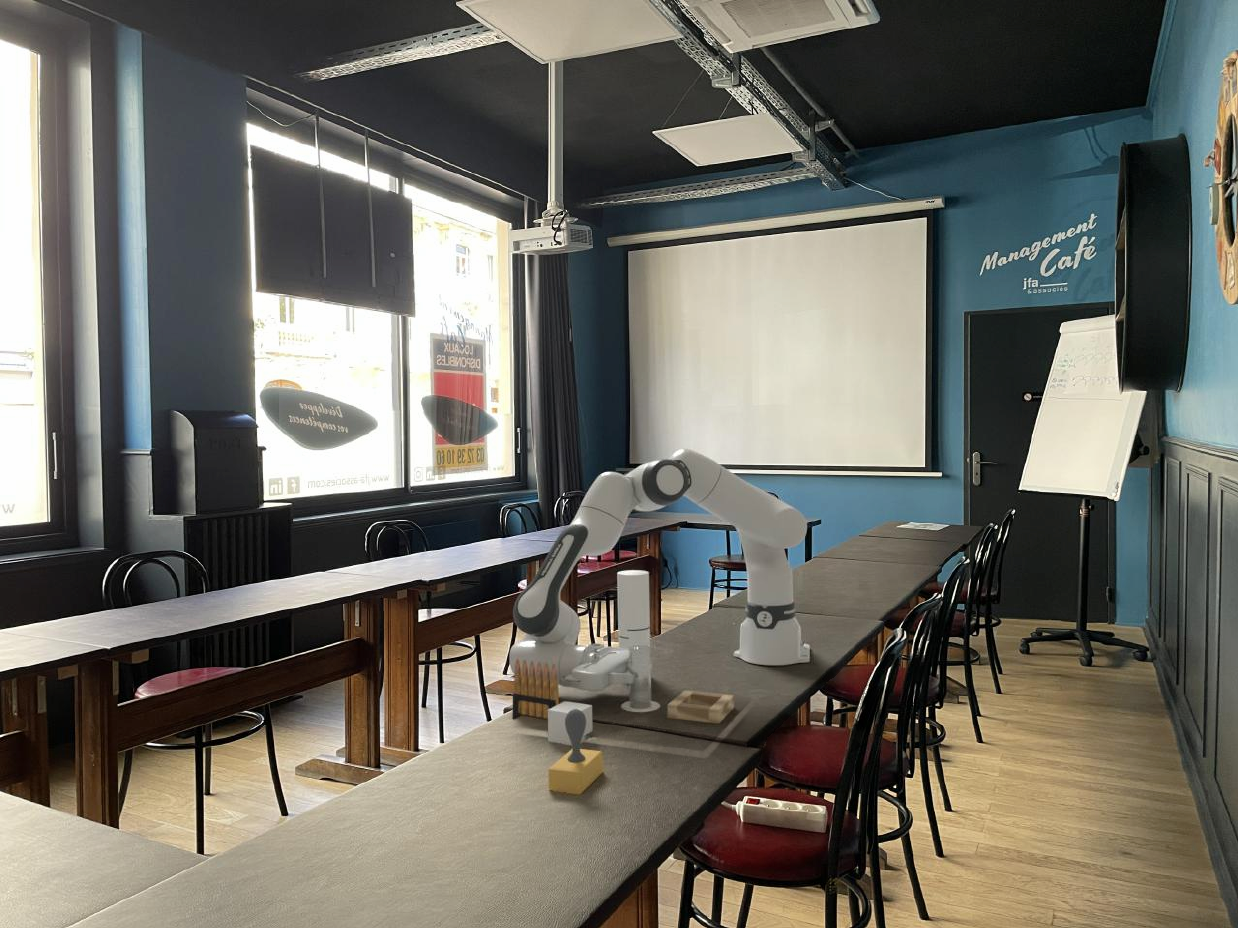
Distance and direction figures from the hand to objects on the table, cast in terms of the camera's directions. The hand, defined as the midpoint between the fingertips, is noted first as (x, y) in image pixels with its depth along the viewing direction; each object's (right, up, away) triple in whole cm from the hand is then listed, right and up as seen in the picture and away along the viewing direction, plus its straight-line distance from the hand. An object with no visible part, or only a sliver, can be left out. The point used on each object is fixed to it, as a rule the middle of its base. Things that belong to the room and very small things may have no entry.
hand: (642, 672), depth 185 cm
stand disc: (0, -8, 0) cm, 8 cm away
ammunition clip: (-21, -9, -5) cm, 23 cm away
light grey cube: (-14, -9, -16) cm, 23 cm away
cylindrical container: (-1, -7, +21) cm, 23 cm away
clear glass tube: (0, -7, 0) cm, 7 cm away
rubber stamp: (-12, -10, -36) cm, 39 cm away
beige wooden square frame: (+12, -8, -5) cm, 15 cm away
